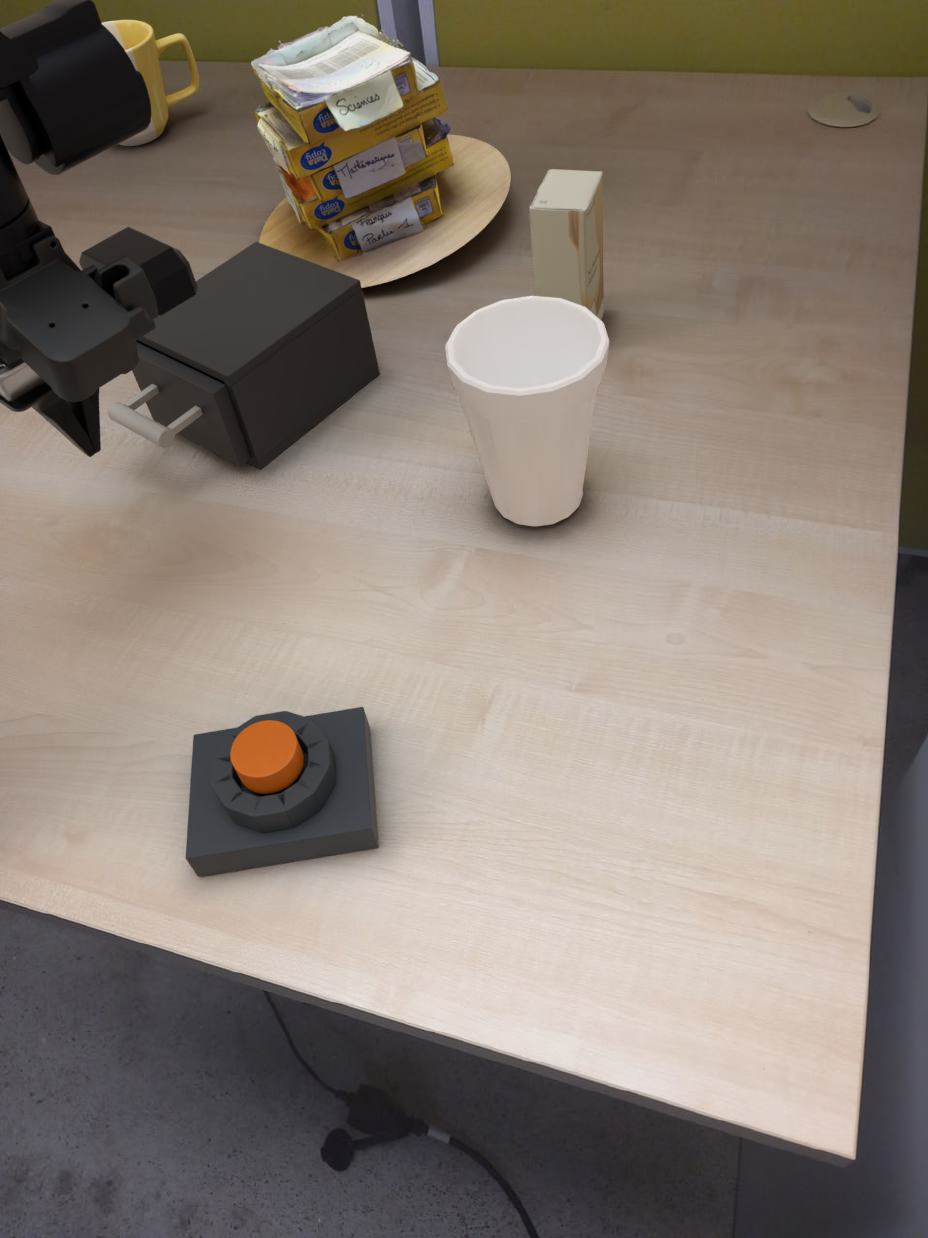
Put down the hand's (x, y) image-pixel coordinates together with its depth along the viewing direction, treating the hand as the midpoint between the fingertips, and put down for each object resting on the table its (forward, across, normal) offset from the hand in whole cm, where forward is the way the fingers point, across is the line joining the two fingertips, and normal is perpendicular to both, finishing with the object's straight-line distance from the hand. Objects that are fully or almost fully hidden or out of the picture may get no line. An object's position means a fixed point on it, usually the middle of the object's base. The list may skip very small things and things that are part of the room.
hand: (91, 451), depth 63 cm
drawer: (+10, +14, +8) cm, 19 cm away
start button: (+7, -6, -22) cm, 24 cm away
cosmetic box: (+11, +38, -7) cm, 40 cm away
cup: (+11, +21, -17) cm, 30 cm away
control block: (+11, -6, -22) cm, 25 cm away
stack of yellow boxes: (+11, +42, +19) cm, 47 cm away
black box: (+11, +18, +8) cm, 23 cm away
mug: (+11, +43, +58) cm, 73 cm away
